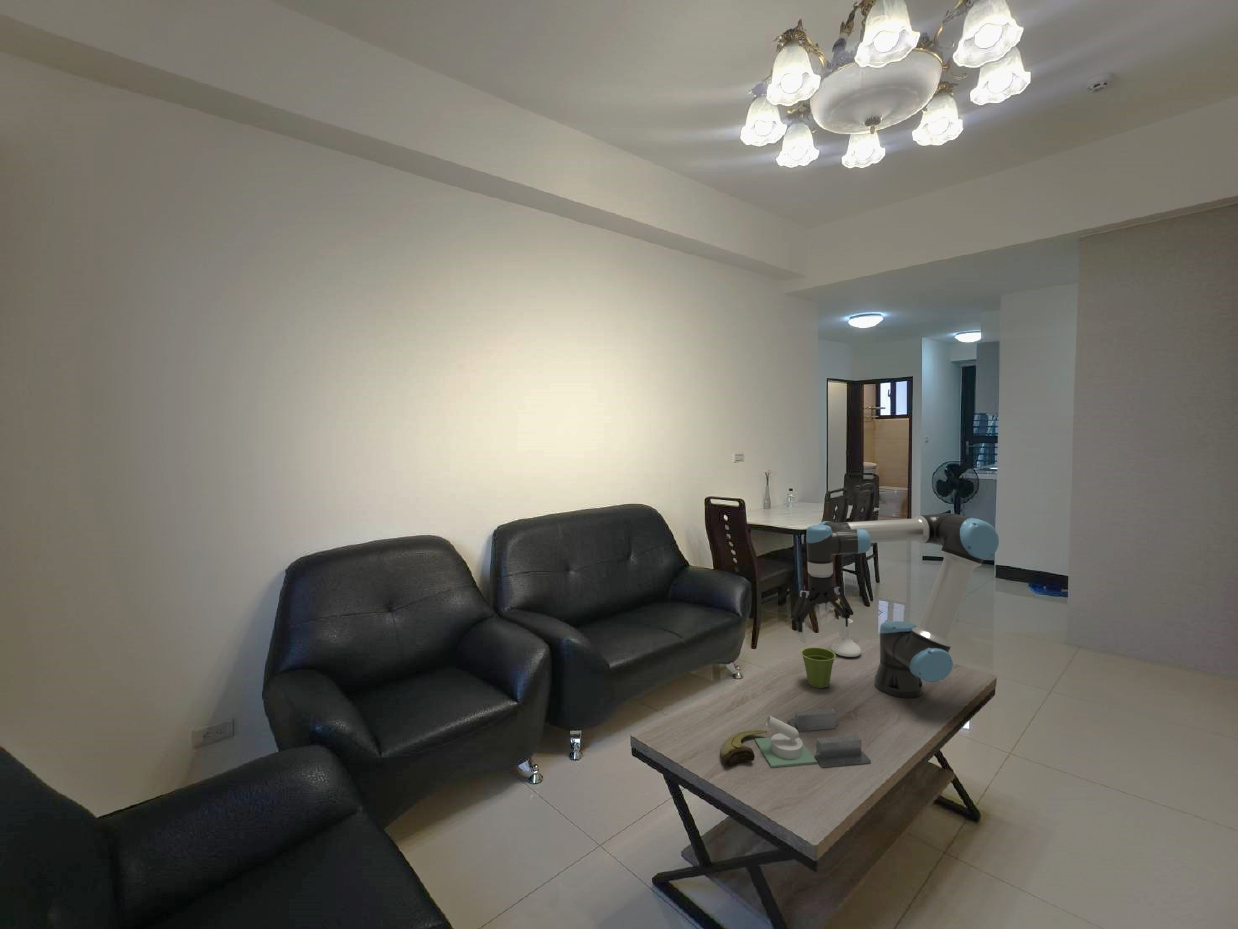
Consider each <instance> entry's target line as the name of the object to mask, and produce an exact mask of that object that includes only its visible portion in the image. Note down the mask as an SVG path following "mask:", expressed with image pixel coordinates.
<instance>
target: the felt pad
mask: <svg viewBox="0 0 1238 929" xmlns="http://www.w3.org/2000/svg"><path fill="white" fill-rule="evenodd" d="M771 738H772V736H769V737H760V738H759V737H758V738H757V737H756V738H754V741H755V743H756V745H757V747H758V748H759V750H760V751H761V753H762V755H763V756H764V758H765V760H766V761H767V763H768V764H769V766H770V768H772V769H773V768H783V767H785V768H786V767H795V766H805V765H815V764H818V762H817V760H816V759H815V756H814V755H813V754H812V753H811V752H810V750H809V749H808V748H807V746H806V745H805V743H803V741H802V744H803V753H802V755H801V756H800V757H799V758H796V759H785V758H781V757H779V756H777V755H776V754H774V753H773V752H772V750H771ZM798 738H800V737H799V736H798Z"/></svg>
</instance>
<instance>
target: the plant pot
mask: <svg viewBox="0 0 1238 929" xmlns="http://www.w3.org/2000/svg"><path fill="white" fill-rule="evenodd" d="M800 654H801V656H802V660H803V662H804V666H805V673H806V679H807V683H808V684H809V685H810V686H811V687H814V688H817V689H824V688H828V687H829V686H830V684H831V683H830V682H831V676H832V670H833V664H834V663H835V662H834V660H835V659H836V657H837V655H836V653H834V652H833V651H832V649H831V650H830V649H828V648H825V647H816V646H814V647H813V646H812V647H811V646H810V647H806V648H803V649H801V651H800Z"/></svg>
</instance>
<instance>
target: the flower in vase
mask: <svg viewBox="0 0 1238 929" xmlns="http://www.w3.org/2000/svg"><path fill="white" fill-rule="evenodd" d="M837 598H838V597H837ZM835 601H836V602H837V603H838V604H839V606H840V607H841V608H842V609H843V610H844V607H843V605H842V603H841V601H840V600H839V598H838V599H837V600H835ZM831 607H832V608H831V609H830V610H831V611H833V612H834V610H836V609H835V607H834V606H833V605H832V606H831ZM853 622H854V620H852V619H850V618H848V627H846V638H843V637H841V638H840V639H839V640H837V641H836V642H834V643H833V644H832V645H831V647H830V649H831V651H832V652H834V653H835V654H837V655H838V656H841V657H847V658H853V657H858V656H860V655H861V654H862V653H863V652H862V649H861V647H860V646H859V645H858V644H857V643H855V642H854V641H853V640H852V638H850V630H851V629H850V628H851V625H852V623H853Z"/></svg>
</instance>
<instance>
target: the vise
mask: <svg viewBox="0 0 1238 929" xmlns="http://www.w3.org/2000/svg"><path fill="white" fill-rule="evenodd" d="M836 717H837V714H836V711H835V710H833V708H823V709H813V710H812V709H811V710H797V711H794V719H787V723H788V725H790V726H792V727H794V728H796V729H797V730H798V732H799V733H800V732H810V731H822V730H824V731H825V730H833V729H836V727H838V723H837V721H836V720H837V718H836ZM815 746H816V748H815V750H816V754H814V758H815V760H816V761H817V764H819V766H820V767H821V768H822V769H825V768H835V767H846V766H855V765H864V764H865V765H868V764H871V763H872V760H871V759H870V758H869V757H868V756H867V754H866V753H865V752H864V751H863V750H862V739H861V737H859V736H858V735H857V734H851V735H840V736H839V735H838V736H830V737H828V736H827V737H816V738H815Z"/></svg>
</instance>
